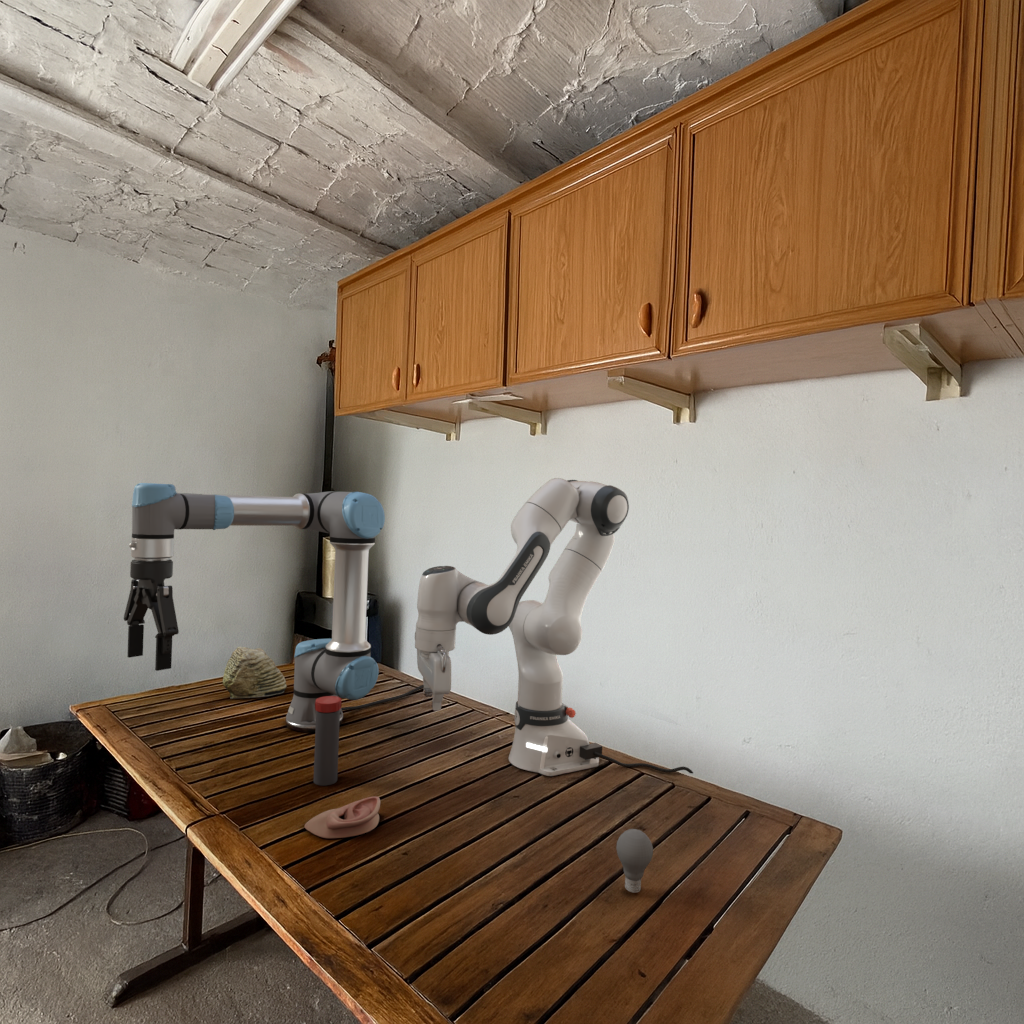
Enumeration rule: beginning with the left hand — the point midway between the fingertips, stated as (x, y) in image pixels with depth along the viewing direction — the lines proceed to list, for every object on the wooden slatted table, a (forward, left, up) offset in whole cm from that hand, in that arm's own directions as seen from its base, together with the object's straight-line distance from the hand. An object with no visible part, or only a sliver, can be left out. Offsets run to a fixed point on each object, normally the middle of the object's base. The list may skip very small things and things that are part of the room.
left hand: (148, 662), depth 129 cm
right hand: (-43, +38, -9) cm, 58 cm away
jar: (-30, +19, -28) cm, 45 cm away
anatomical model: (-21, +38, -28) cm, 52 cm away
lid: (-30, +19, -10) cm, 37 cm away
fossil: (-50, -47, -28) cm, 74 cm away
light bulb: (-41, +90, -28) cm, 103 cm away
